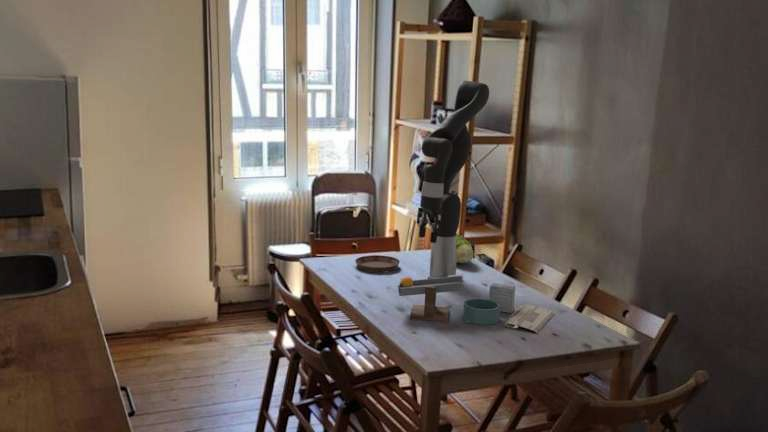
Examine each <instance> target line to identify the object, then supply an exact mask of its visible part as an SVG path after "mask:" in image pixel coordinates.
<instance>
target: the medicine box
mask: <svg viewBox="0 0 768 432" xmlns="http://www.w3.org/2000/svg"><path fill="white" fill-rule="evenodd" d="M515 294H516V285H513V284H506V283H499V282H492V283H491V285H490V286H489V295H488V299H490V300H492V301H495V302H498V303H499V305H500V313H504V312H507V313H506V314H513V312H514V311H515V310H514V309H515V308H514V307H515Z"/></svg>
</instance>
